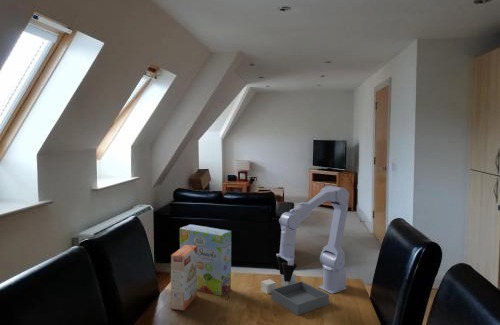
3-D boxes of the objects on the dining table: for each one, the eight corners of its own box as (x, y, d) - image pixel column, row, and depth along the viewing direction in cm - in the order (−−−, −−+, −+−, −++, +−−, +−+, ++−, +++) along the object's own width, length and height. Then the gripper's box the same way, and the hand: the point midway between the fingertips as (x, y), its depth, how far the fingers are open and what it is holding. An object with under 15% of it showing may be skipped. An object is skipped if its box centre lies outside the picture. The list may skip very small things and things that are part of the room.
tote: (301, 290, 158) (301, 281, 157) (328, 304, 145) (329, 294, 144) (270, 299, 149) (271, 289, 149) (297, 315, 136) (297, 304, 135)
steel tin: (289, 282, 166) (289, 271, 166) (295, 285, 162) (296, 274, 162) (281, 284, 164) (281, 273, 163) (287, 288, 160) (288, 276, 160)
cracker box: (185, 311, 138) (185, 256, 136) (170, 309, 139) (169, 255, 137) (198, 295, 151) (198, 245, 150) (184, 294, 153) (183, 244, 151)
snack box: (178, 286, 160) (178, 227, 158) (190, 279, 168) (190, 223, 166) (221, 297, 150) (221, 234, 148) (232, 289, 158) (232, 229, 156)
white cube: (269, 288, 160) (269, 279, 160) (275, 291, 156) (276, 282, 156) (260, 290, 157) (261, 281, 157) (267, 294, 154) (267, 284, 153)
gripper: (274, 238, 152) (271, 271, 153) (281, 248, 138) (278, 284, 138) (290, 239, 153) (288, 271, 154) (300, 248, 139) (297, 284, 139)
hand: (284, 277), depth 146 cm, fingers open, 7 cm apart
